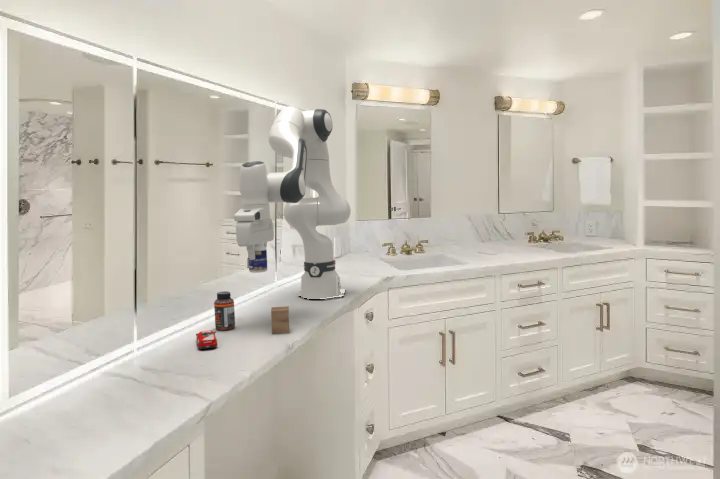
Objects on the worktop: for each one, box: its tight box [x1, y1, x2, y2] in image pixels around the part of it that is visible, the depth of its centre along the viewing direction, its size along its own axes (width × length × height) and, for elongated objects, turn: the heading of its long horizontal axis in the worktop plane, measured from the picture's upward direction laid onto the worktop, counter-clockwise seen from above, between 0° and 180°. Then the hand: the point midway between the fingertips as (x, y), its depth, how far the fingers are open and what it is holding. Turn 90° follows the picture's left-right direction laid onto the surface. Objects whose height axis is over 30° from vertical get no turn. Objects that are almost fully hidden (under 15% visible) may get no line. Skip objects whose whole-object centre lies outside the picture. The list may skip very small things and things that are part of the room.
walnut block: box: [270, 305, 290, 335], centre depth 160 cm, size 5×5×7 cm
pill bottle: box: [247, 240, 268, 274], centre depth 168 cm, size 6×6×10 cm
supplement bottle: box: [213, 291, 236, 332], centre depth 165 cm, size 6×6×11 cm
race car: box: [195, 330, 218, 350], centre depth 149 cm, size 13×5×4 cm, turn 18°
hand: (257, 258), depth 168 cm, fingers closed on pill bottle, 6 cm apart
